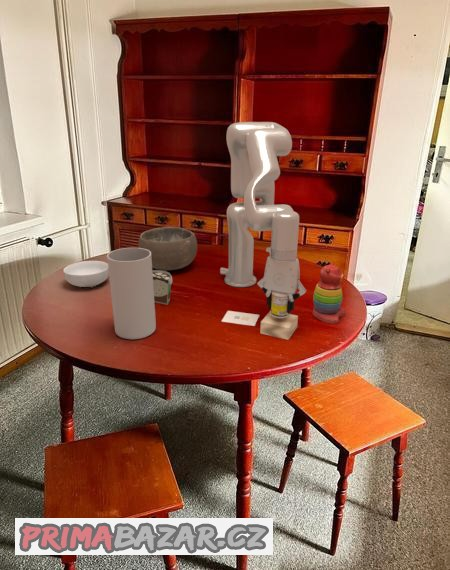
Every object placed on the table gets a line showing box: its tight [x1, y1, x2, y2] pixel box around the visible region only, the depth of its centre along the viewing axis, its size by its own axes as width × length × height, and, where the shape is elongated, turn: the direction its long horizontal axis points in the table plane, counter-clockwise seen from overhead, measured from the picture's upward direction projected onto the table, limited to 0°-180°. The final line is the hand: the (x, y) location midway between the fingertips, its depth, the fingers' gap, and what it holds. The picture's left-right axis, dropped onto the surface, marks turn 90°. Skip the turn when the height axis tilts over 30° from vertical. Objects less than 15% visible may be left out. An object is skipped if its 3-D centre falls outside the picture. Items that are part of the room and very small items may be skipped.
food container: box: [152, 269, 173, 305], centre depth 154 cm, size 12×6×10 cm, turn 65°
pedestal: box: [259, 310, 299, 341], centre depth 134 cm, size 9×9×4 cm
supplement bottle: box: [270, 291, 290, 318], centre depth 131 cm, size 6×6×10 cm
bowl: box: [138, 226, 198, 272], centre depth 183 cm, size 24×24×15 cm
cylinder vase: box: [106, 247, 157, 340], centre depth 129 cm, size 12×12×25 cm
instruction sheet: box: [221, 310, 260, 327], centre depth 142 cm, size 11×8×1 cm
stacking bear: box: [311, 262, 346, 325], centre depth 141 cm, size 11×10×18 cm
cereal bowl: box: [62, 260, 109, 288], centre depth 167 cm, size 17×17×7 cm
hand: (280, 308), depth 132 cm, fingers closed on supplement bottle, 5 cm apart
